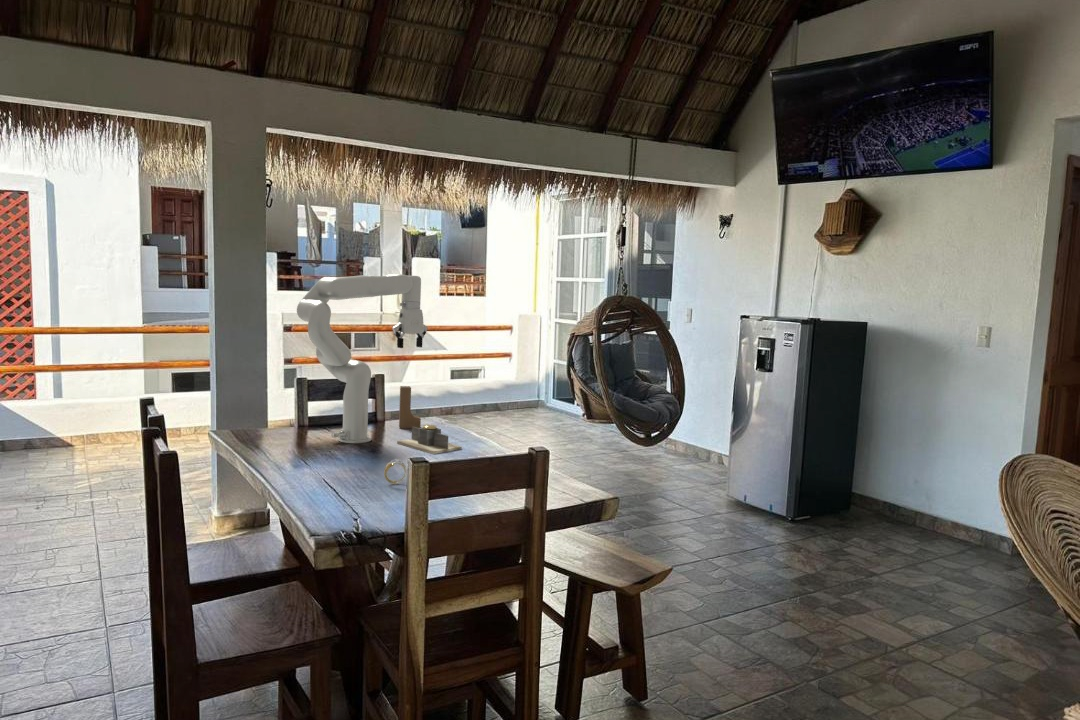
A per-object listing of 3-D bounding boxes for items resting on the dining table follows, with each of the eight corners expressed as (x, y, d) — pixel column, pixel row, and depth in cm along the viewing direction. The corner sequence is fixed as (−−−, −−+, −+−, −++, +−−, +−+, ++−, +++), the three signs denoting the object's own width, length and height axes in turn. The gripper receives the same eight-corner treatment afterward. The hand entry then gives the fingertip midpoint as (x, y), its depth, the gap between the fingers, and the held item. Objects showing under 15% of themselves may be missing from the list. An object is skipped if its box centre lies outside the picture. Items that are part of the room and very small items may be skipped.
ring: (406, 482, 229) (406, 457, 229) (407, 485, 226) (407, 460, 226) (383, 482, 228) (384, 458, 227) (384, 485, 225) (384, 460, 224)
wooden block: (419, 426, 318) (421, 386, 317) (420, 428, 314) (421, 387, 312) (398, 426, 316) (400, 386, 314) (399, 428, 312) (400, 387, 310)
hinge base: (433, 454, 269) (433, 435, 268) (397, 443, 283) (397, 425, 283) (461, 449, 279) (462, 431, 279) (425, 439, 294) (425, 422, 293)
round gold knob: (428, 443, 278) (428, 427, 277) (419, 440, 281) (420, 425, 280) (438, 441, 281) (439, 426, 281) (430, 439, 285) (430, 424, 284)
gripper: (399, 306, 288) (398, 349, 289) (433, 306, 300) (432, 347, 302) (388, 305, 293) (386, 347, 294) (422, 305, 305) (420, 346, 307)
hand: (409, 347), depth 298 cm, fingers open, 9 cm apart
